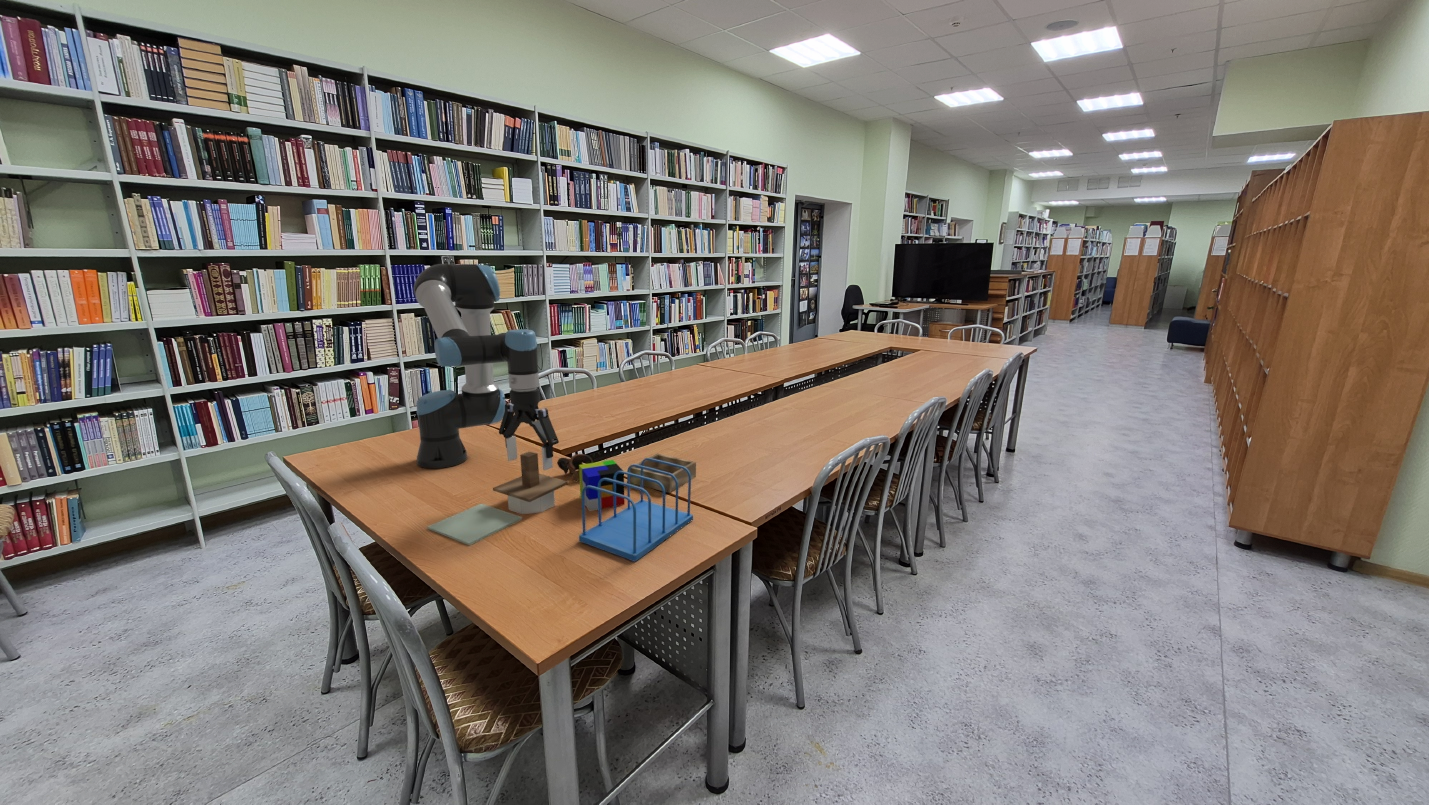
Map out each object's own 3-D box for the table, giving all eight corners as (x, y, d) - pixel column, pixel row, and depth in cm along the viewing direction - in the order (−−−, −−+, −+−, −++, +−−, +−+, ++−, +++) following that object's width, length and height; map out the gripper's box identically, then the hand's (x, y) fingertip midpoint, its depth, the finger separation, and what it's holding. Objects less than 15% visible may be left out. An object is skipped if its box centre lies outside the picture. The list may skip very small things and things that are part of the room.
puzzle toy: (589, 511, 148) (588, 477, 145) (580, 497, 156) (579, 464, 154) (624, 504, 152) (623, 471, 150) (613, 491, 161) (613, 459, 158)
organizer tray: (629, 482, 167) (629, 467, 166) (657, 467, 180) (657, 453, 179) (669, 493, 160) (669, 477, 159) (695, 476, 173) (696, 462, 172)
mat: (427, 528, 136) (427, 526, 136) (481, 505, 150) (481, 503, 149) (469, 545, 128) (469, 543, 128) (522, 519, 142) (522, 517, 142)
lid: (493, 490, 147) (490, 456, 145) (532, 474, 159) (530, 442, 157) (529, 502, 141) (527, 466, 138) (568, 484, 153) (566, 451, 150)
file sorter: (635, 563, 123) (634, 501, 119) (578, 543, 131) (575, 484, 127) (693, 520, 144) (694, 466, 140) (641, 505, 152) (640, 454, 148)
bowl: (500, 506, 149) (498, 490, 148) (533, 491, 159) (532, 476, 158) (530, 517, 143) (529, 500, 142) (563, 501, 153) (562, 484, 152)
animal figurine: (595, 470, 178) (599, 454, 172) (588, 493, 171) (591, 476, 165) (559, 462, 176) (561, 445, 171) (550, 484, 169) (552, 467, 164)
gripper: (481, 385, 146) (487, 459, 151) (548, 397, 134) (553, 477, 139) (503, 381, 152) (509, 452, 157) (569, 391, 140) (573, 468, 145)
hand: (529, 464), depth 148 cm, fingers open, 13 cm apart
